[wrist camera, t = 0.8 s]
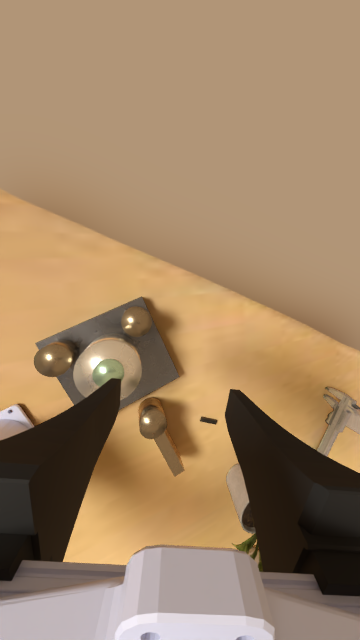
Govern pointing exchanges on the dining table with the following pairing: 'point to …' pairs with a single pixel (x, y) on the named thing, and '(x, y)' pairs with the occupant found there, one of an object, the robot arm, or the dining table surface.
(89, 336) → the levelling base
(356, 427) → the paper snack bag
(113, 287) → the dining table surface
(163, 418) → the ball-topped bar
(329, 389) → the caliper
